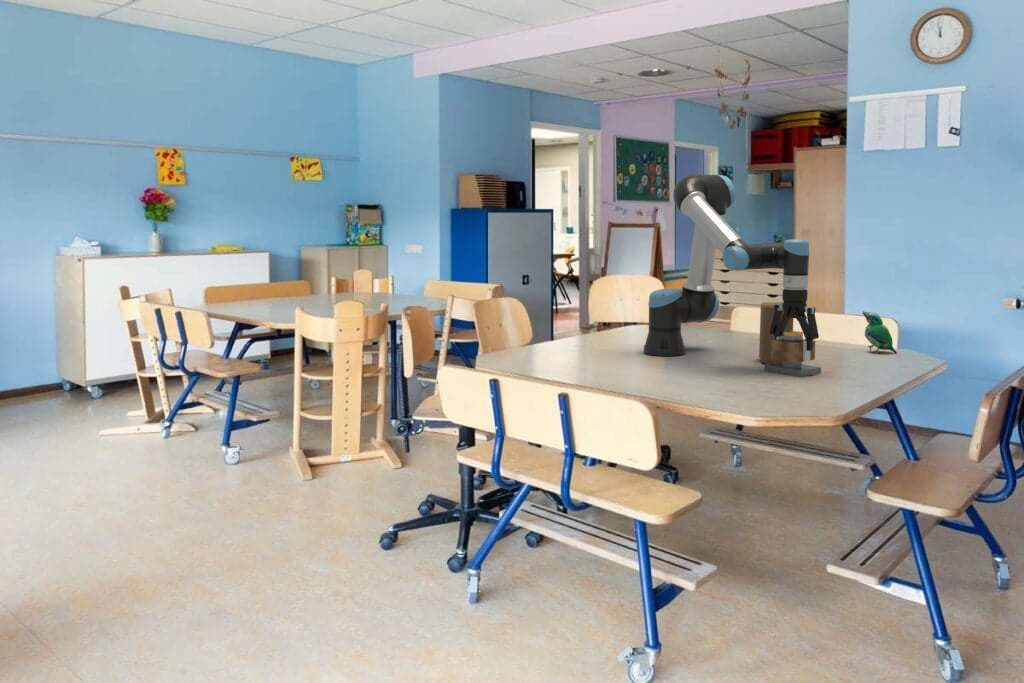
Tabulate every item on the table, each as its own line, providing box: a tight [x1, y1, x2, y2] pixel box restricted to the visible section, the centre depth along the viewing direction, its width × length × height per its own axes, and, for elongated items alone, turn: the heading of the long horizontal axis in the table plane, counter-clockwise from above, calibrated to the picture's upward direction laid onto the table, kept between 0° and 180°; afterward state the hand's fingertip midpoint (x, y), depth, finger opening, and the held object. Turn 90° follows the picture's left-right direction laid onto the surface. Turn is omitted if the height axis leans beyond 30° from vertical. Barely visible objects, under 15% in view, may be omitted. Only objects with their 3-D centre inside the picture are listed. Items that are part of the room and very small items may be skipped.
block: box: [758, 301, 794, 364], centre depth 290 cm, size 10×10×20 cm
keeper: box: [763, 330, 822, 378], centre depth 271 cm, size 14×10×13 cm
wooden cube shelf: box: [771, 338, 816, 363], centre depth 270 cm, size 10×10×6 cm
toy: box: [861, 310, 898, 354], centre depth 305 cm, size 12×8×15 cm, turn 73°
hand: (792, 358), depth 271 cm, fingers closed on wooden cube shelf, 9 cm apart
